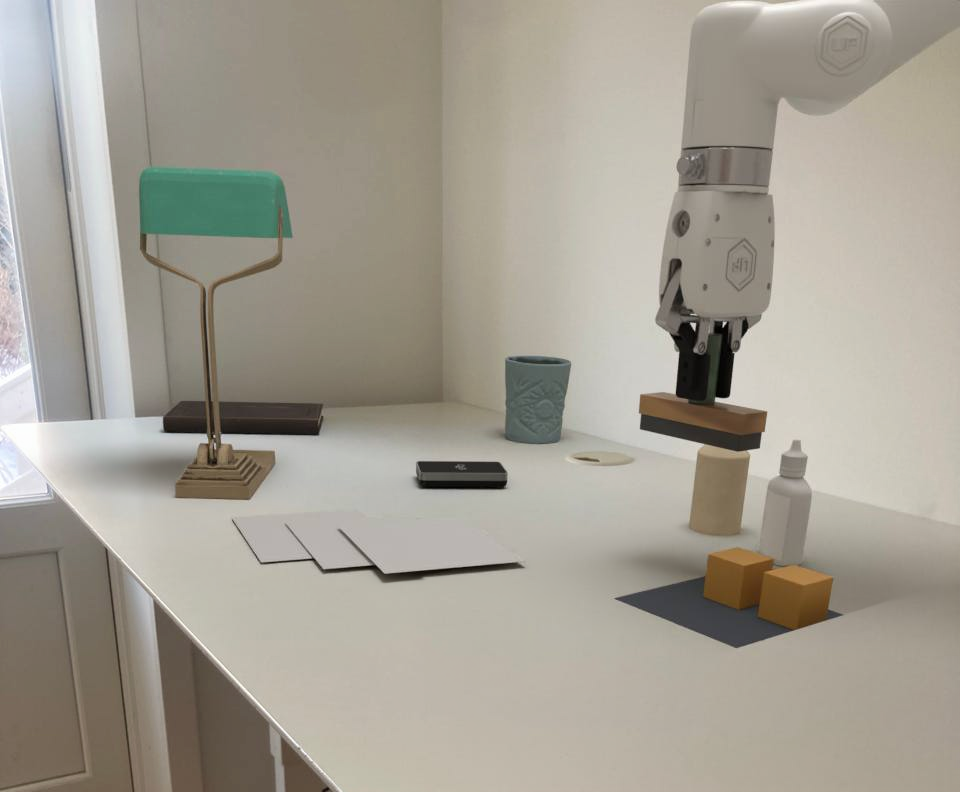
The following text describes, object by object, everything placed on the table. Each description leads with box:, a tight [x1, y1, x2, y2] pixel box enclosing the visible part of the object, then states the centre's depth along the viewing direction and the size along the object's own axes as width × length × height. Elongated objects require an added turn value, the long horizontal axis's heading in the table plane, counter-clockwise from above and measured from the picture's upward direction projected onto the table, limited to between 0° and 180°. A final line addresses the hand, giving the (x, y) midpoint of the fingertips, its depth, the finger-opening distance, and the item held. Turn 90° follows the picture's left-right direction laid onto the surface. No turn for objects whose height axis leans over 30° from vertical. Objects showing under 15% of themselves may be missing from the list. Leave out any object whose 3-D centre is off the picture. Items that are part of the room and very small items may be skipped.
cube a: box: [758, 565, 834, 631], centre depth 85 cm, size 4×4×4 cm
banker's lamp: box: [138, 166, 293, 500], centre depth 121 cm, size 16×21×35 cm
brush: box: [638, 333, 768, 452], centre depth 93 cm, size 3×12×9 cm, turn 37°
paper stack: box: [231, 508, 526, 575], centre depth 103 cm, size 23×25×1 cm
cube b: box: [703, 547, 774, 610], centre depth 90 cm, size 4×4×4 cm
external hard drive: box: [415, 460, 508, 489], centre depth 129 cm, size 7×11×2 cm, turn 98°
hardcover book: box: [162, 400, 324, 436], centre depth 162 cm, size 16×23×2 cm
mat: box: [614, 575, 844, 649], centre depth 87 cm, size 14×18×1 cm
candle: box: [688, 444, 751, 537], centre depth 111 cm, size 6×6×10 cm
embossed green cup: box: [504, 355, 572, 444], centre depth 157 cm, size 10×10×12 cm
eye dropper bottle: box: [758, 439, 813, 567], centre depth 101 cm, size 4×6×12 cm
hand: (702, 395), depth 93 cm, fingers closed on brush, 2 cm apart
